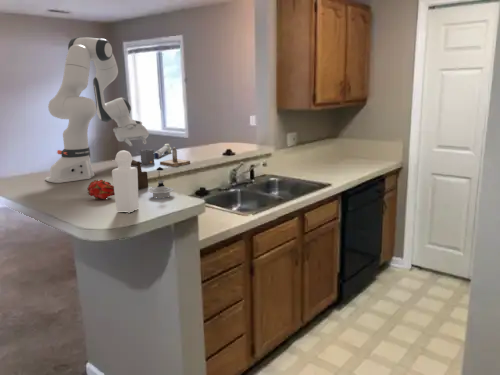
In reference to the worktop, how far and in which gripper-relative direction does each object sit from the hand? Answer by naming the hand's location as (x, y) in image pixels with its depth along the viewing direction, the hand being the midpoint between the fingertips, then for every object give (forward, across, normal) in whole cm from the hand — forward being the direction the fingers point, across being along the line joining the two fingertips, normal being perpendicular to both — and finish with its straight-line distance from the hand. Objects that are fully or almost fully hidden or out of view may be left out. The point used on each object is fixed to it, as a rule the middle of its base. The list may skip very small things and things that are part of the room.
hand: (138, 144), depth 249 cm
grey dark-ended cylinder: (0, +26, +16) cm, 30 cm away
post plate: (+22, +10, -6) cm, 25 cm away
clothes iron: (+42, -38, -27) cm, 63 cm away
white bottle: (+64, -62, -49) cm, 101 cm away
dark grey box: (+13, 0, +2) cm, 13 cm away
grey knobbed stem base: (+59, -41, -44) cm, 84 cm away
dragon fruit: (+48, -58, -32) cm, 82 cm away
